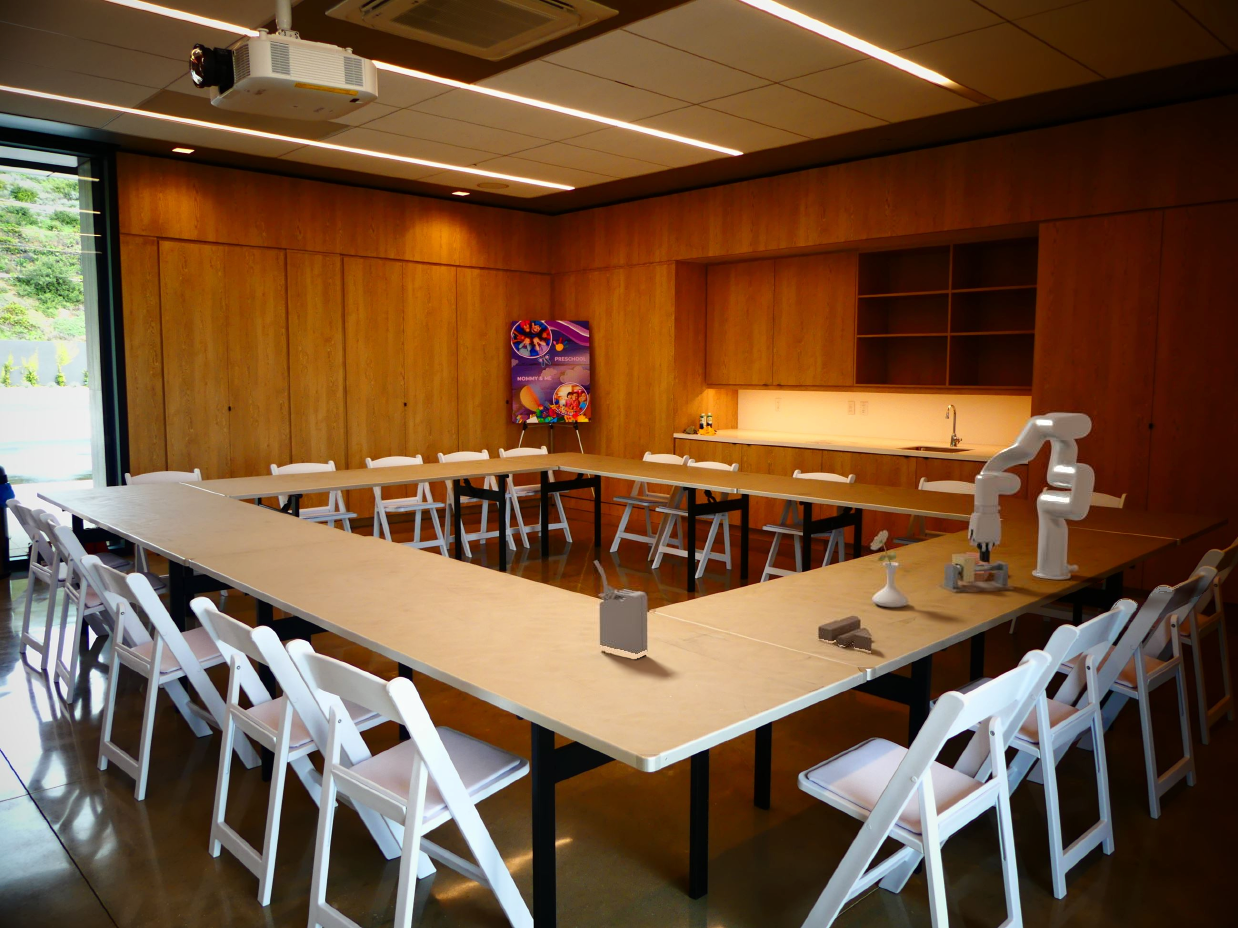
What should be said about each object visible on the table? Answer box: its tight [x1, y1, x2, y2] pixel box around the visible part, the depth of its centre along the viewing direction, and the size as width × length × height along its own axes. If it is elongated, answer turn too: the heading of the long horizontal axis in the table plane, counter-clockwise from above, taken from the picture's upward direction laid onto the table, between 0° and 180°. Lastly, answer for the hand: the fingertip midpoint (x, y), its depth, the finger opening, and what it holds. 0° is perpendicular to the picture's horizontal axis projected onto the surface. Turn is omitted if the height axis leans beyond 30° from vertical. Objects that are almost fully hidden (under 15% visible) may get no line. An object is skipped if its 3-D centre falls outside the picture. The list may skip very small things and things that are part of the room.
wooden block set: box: [817, 615, 873, 652], centre depth 246 cm, size 17×6×18 cm
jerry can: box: [593, 559, 648, 654], centre depth 236 cm, size 15×5×25 cm, turn 51°
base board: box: [938, 580, 1014, 594], centre depth 305 cm, size 22×10×1 cm, turn 101°
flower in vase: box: [870, 529, 910, 608], centre depth 281 cm, size 13×11×25 cm
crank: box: [965, 551, 991, 582], centre depth 321 cm, size 20×8×8 cm, turn 151°
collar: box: [951, 553, 975, 583], centre depth 303 cm, size 4×7×8 cm, turn 11°
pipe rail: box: [944, 560, 1009, 589], centre depth 304 cm, size 21×5×8 cm, turn 101°
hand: (984, 561), depth 305 cm, fingers closed
